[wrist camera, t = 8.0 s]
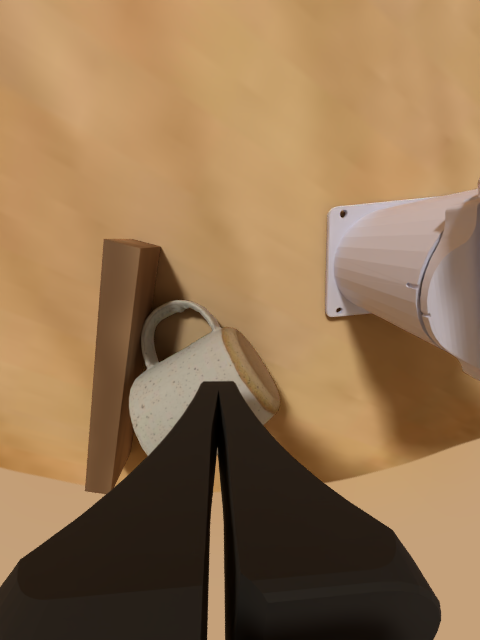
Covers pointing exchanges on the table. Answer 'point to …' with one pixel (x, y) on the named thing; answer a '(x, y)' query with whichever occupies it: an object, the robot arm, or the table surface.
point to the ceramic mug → (194, 376)
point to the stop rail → (118, 355)
